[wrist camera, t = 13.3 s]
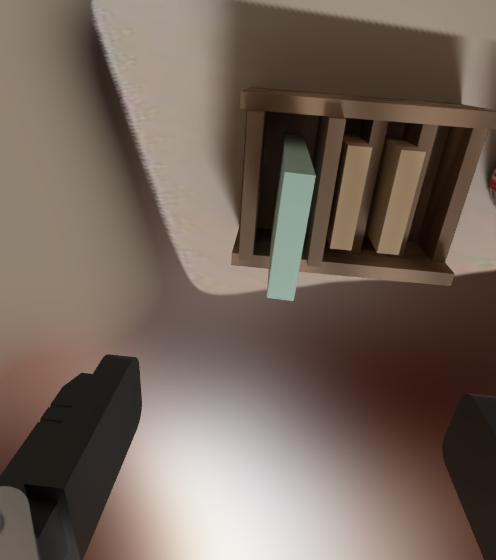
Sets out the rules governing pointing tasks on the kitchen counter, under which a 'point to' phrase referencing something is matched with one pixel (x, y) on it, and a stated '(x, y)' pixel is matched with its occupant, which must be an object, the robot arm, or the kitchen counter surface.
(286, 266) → the sage board
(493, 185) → the soda can
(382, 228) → the pine offcut
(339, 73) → the kitchen counter surface
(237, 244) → the rack
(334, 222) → the pine offcut
